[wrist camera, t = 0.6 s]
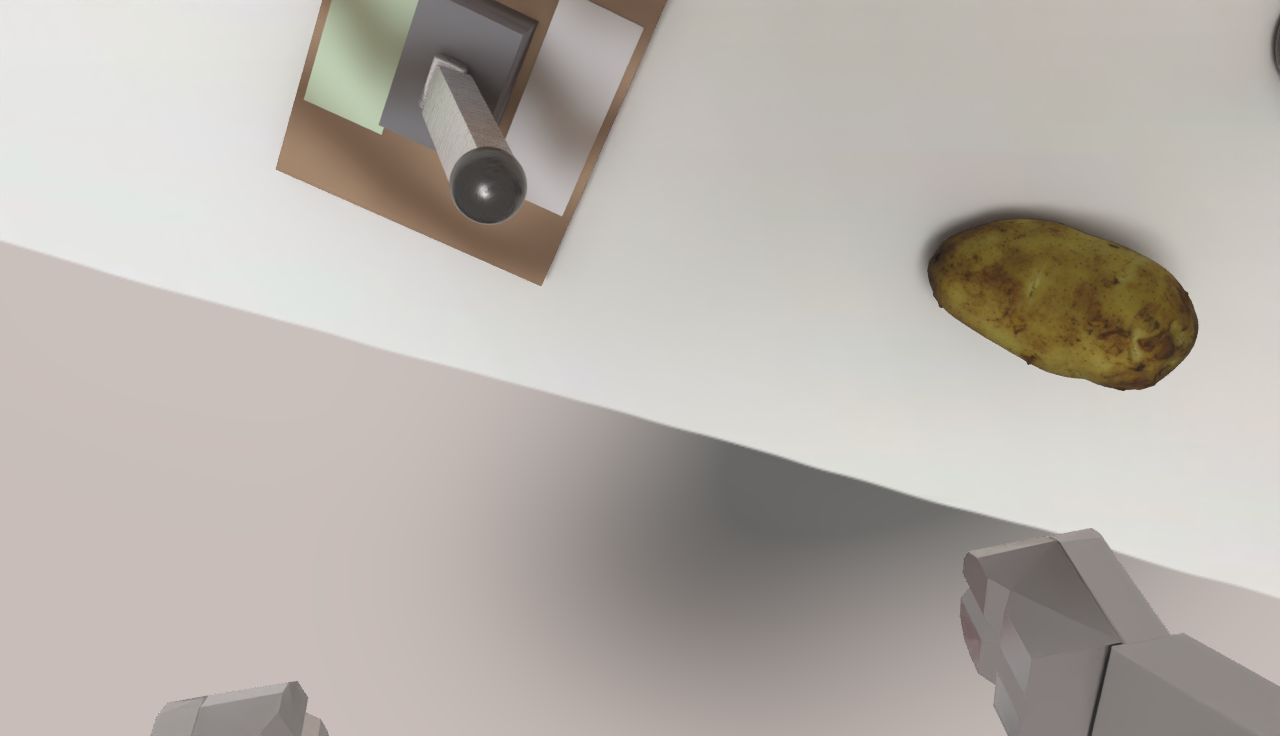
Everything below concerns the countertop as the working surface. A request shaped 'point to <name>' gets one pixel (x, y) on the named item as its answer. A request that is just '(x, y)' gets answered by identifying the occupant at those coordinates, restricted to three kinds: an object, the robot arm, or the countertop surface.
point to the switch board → (423, 173)
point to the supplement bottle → (1278, 48)
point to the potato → (1066, 301)
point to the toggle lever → (471, 145)
